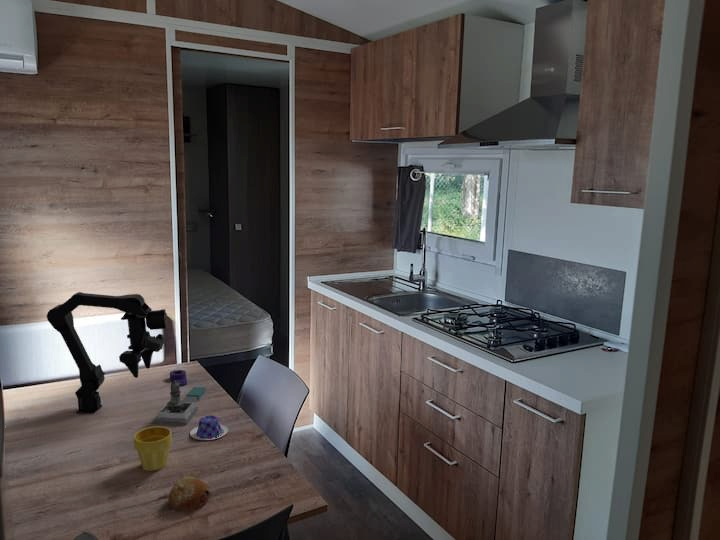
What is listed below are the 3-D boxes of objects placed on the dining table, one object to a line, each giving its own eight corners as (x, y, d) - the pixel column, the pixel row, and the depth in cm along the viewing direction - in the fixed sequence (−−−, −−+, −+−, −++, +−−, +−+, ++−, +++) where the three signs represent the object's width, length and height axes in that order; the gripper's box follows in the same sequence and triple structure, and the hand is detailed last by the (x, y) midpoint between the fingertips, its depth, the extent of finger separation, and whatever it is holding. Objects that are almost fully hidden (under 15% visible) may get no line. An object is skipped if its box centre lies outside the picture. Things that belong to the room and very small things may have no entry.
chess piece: (184, 415, 199) (183, 382, 197) (166, 417, 198) (164, 383, 196) (185, 408, 205) (184, 376, 203) (168, 410, 204) (166, 377, 202)
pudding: (182, 438, 187) (181, 422, 186) (204, 423, 198) (204, 408, 197) (214, 444, 182) (213, 429, 182) (235, 429, 194) (234, 414, 193)
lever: (168, 378, 239) (168, 371, 239) (184, 376, 242) (183, 368, 242) (175, 388, 229) (174, 380, 228) (191, 385, 232) (191, 377, 232)
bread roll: (181, 503, 157) (167, 478, 155) (216, 486, 157) (202, 462, 155) (173, 525, 147) (158, 499, 145) (210, 507, 147) (195, 481, 146)
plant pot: (137, 477, 162) (135, 445, 160) (133, 461, 171) (131, 430, 169) (176, 469, 167) (174, 437, 165) (169, 453, 176) (168, 423, 174)
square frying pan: (154, 423, 197) (154, 413, 196) (186, 391, 225) (185, 382, 225) (186, 424, 196) (186, 414, 195) (213, 392, 225) (213, 383, 224)
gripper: (148, 338, 194) (152, 382, 197) (170, 322, 213) (174, 363, 216) (116, 338, 195) (121, 382, 198) (141, 323, 214) (145, 364, 217)
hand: (142, 372), depth 207 cm, fingers open, 9 cm apart
